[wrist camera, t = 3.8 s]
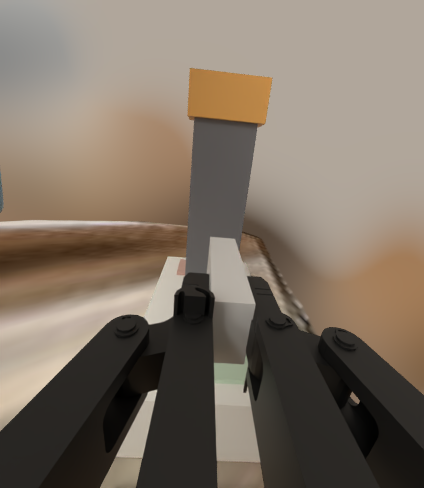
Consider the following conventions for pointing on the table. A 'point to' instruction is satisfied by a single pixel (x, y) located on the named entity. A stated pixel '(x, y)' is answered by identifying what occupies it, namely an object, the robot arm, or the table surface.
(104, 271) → the table surface
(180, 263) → the breaker housing
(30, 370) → the table surface
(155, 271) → the table surface
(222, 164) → the lever
